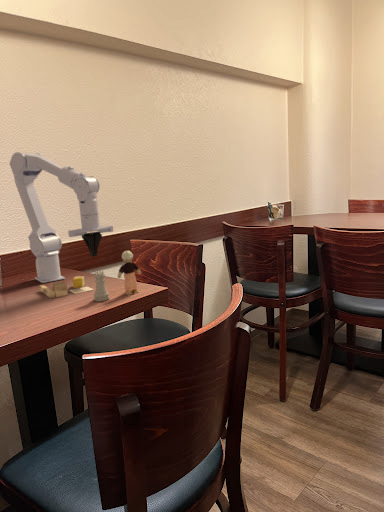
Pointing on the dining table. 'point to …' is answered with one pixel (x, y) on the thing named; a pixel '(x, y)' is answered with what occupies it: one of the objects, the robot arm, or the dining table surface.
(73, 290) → the card
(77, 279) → the alphabet block
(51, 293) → the backstop
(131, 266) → the grandmother figurine
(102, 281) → the rook chess piece
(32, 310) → the dining table surface
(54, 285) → the maple cube
